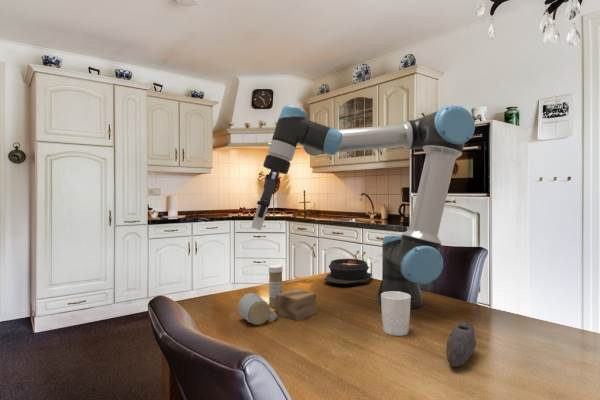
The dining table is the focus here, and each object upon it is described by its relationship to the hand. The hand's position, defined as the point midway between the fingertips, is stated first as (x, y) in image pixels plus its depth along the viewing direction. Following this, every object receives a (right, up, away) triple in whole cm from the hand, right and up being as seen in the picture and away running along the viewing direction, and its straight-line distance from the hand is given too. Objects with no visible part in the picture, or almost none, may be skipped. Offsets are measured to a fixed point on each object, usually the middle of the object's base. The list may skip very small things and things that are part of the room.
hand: (256, 226), depth 113 cm
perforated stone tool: (+49, -29, -25) cm, 62 cm away
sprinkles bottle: (+5, -28, +15) cm, 32 cm away
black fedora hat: (+33, -27, +50) cm, 66 cm away
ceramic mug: (+1, -28, +1) cm, 28 cm away
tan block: (+12, -28, +7) cm, 31 cm away
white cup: (+39, -28, -8) cm, 49 cm away
